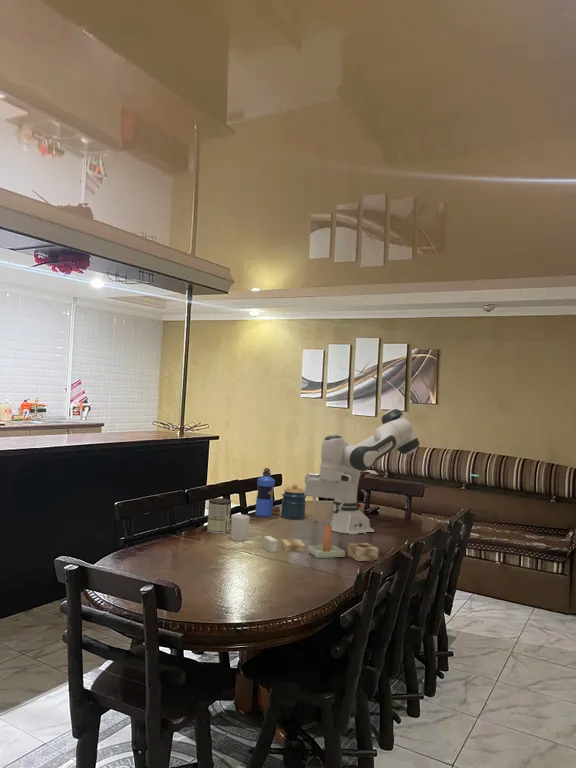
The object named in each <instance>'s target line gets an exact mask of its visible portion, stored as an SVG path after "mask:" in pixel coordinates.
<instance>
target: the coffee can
mask: <svg viewBox="0 0 576 768" xmlns="http://www.w3.org/2000/svg"><path fill="white" fill-rule="evenodd" d="M231 508H232V500H231V499H230V498H229V499H228V498H222V497H215V498H209V499H208V511H207V512H208V514H207V525H206V526H207V527H206V528H207V529H206V531H207V532H209V533H211V534H227V533H226V532H228V533H229V532H230V522H231V521H230V520H231Z"/></svg>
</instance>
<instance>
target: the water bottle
mask: <svg viewBox="0 0 576 768" xmlns="http://www.w3.org/2000/svg"><path fill="white" fill-rule="evenodd" d="M271 475H272V473H271V469H270V468H269V467H265V468H264V469H263V472H262V476H261V477H258V478H257V482H256V485H257V494H256V500H255V515H256V516H257V517H261V518H262V517H264V518H267V517H268V518H270V517H272V516H273V508H274V507H273V506H274V505H273V504H274V489H275V485H276V483H275V482H276V479H274V478H273V477H271Z"/></svg>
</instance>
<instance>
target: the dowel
mask: <svg viewBox="0 0 576 768" xmlns="http://www.w3.org/2000/svg"><path fill="white" fill-rule="evenodd" d="M323 526H324V527H323V541H322V546H323V551H322V552H330V549H331V545H332V532H333V531H332V526H331V525H330V524H325V525H323Z"/></svg>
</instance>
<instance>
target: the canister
mask: <svg viewBox="0 0 576 768" xmlns="http://www.w3.org/2000/svg"><path fill="white" fill-rule="evenodd" d="M283 491H284V492H283V493H282V494H281V495H282V500H281V511H280V517H281V518H283V519H287V520H294V521H295V520H303V519H305V516H306V504H307V502H306V498H307V496H306V495H305V489H303V488H301V487H298V484H293V485H292V486H291V487H287V488H286V489H283Z"/></svg>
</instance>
